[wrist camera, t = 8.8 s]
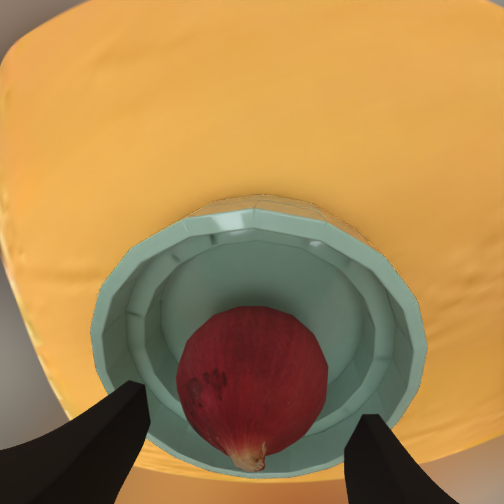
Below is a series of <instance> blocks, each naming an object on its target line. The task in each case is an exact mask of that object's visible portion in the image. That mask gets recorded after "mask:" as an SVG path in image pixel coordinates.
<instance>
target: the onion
mask: <svg viewBox="0 0 504 504" xmlns="http://www.w3.org/2000/svg"><path fill="white" fill-rule="evenodd" d="M328 367H329V366H328V364H327V361H326V359H325V357H324V354H323V352H322V350H321V347H320V345H319V343H318V341H317V339H316V337H315V335H314V333H312V332H311V331H310V330H309V329H308V328H307V327H306V326H305V325H304V324H302V323H301V322H300V321H299V320H298V319H297V318H296V317H295V316H293V315H291V314H288V313H285V312H282V311H279V310H276V309H273V308H270V307H267V306H238V307H235V308H232V309H229V310H226V311H224V312H221V313H218V314H215V315H213V316H212V317H211V318H209V319H208V320H207V321H206V322H205V323H204V324H203V325H202V326H200V327H199V328H198V329H197V330H196V331H195V332H194V333H193V334H192V336H191V337H190V338H189V339H188V340H187V342H186V344H185V347H184V350H183V353H182V356H181V359H180V362H179V365H178V370H177V374H176V385H177V392H178V395H179V399H180V402H181V405H182V409H183V412H184V414H185V416H186V419H187V421H188V422H189V424H190V425H191V427H192V428H193V429H194V430H195V431H196V432H197V434H198V435H199V436H200V437H202V438H203V439H204V440H205V441H207V442H208V443H209V444H210V445H212V446H213V447H214V448H216V449H218V450H219V451H221V452H223V453H224V454H225V455H227V456H229V457H230V458H231V459H232V461H233V463H234V464H235V466H236V467H238V468H240V469H242V470H244V471H246V472H258V471H261V470H264V468H265V462H264V461H265V456H268V455H271V454H275V453H279V452H281V451H282V450H284V449H286V448H287V447H289V446H290V445H292V444H293V443H295V442H296V441H298V440H299V439H301V438H302V437H303V436H304V435H305V434H306V433H307V432H308V430H309V429H310V428H311V426H312V425H313V423H314V422H315V420H316V419H317V417H318V416H319V414H320V413H321V411H322V409H323V406H324V404H325V402H326V395H327V382H328Z"/></svg>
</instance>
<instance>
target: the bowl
mask: <svg viewBox="0 0 504 504" xmlns="http://www.w3.org/2000/svg"><path fill="white" fill-rule="evenodd" d="M238 306H267V307H270V308H273V309H276V310H279V311H282V312H285V313H288V314H291V315H293V316H295V317H296V318H297V319H298V320H299V321H300V322H301V323H302V324H304V325H305V326H306V327H307V328H308V329H309V330H310V331H311V332H312V333H314V335H315V337H316V339H317V341H318V343H319V345H320V347H321V350H322V352H323V354H324V357H325V359H326V361H327V364H328V366H329V367H328V382H327V395H326V402H325V404H324V406H323V409H322V411H321V413H320V414H319V416H318V417H317V419H316V420H315V422H314V423H313V425H312V426H311V428H310V429H309V430H308V432H307V433H306V434H305V435H304V436H303V437H302V438H301V439H299V440H298V441H296V442H295V443H293V444H292V445H290V446H289V447H287V448H286V449H284V450H282V451H281V452H279V453H275V454H271V455H268V456H265V461H264V462H265V468H264V470H261V471H258V472H246V471H244V470H242V469H240V468H238V467H236V466H235V464H234V463H233V461H232V459H231V458H230V457H229V456H227V455H225V454H224V453H223V452H221V451H219V450H218V449H216V448H214V447H213V446H212V445H210V444H209V443H208V442H207V441H205V440H204V439H203V438H202V437H200V436H199V435H198V434H197V432H196V431H195V430H194V429H193V428H192V427H191V425H190V424H189V422H188V421H187V419H186V416H185V414H184V412H183V409H182V405H181V402H180V399H179V395H178V392H177V385H176V374H177V370H178V365H179V362H180V359H181V356H182V353H183V350H184V347H185V344H186V342H187V340H188V339H189V338H190V337H191V336H192V334H193V333H194V332H195V331H196V330H197V329H198V328H199V327H200V326H202V325H203V324H204V323H205V322H206V321H207V320H208V319H209V318H211V317H212V316H213V315H215V314H218V313H221V312H224V311H226V310H229V309H232V308H235V307H238ZM90 329H91V330H90V334H91V342H92V349H93V356H94V362H95V368H96V371H97V373H98V376H99V378H100V380H101V382H102V384H103V386H104V388H105V390H106V392H107V394H108V395H109V394H110V393H112V392H113V391H114V390H116V389H117V388H118V387H120V386H121V385H122V384H124V383H125V382H127V381H128V380H131V381H134V382H138V383H141V384H145V387H146V394H147V401H148V407H149V414H150V420H151V424H150V427H149V430H148V433H147V436H146V439H148V440H149V441H151V442H152V443H153V444H155V445H156V446H158V447H159V448H161V449H162V450H164V451H165V452H167V453H169V454H170V455H172V456H174V457H175V458H177V459H180V460H182V461H185V462H187V463H189V464H192V465H194V466H197V467H200V468H202V469H205V470H208V471H212V472H215V473H220V474H226V475H231V476H237V477H243V478H252V479H266V478H290V477H296V476H301V475H305V474H309V473H313V472H317V471H321V470H325V469H328V468H331V467H334V466H336V465H338V464H340V463H342V462H344V448H345V446H346V444H347V443H348V441H349V439H350V437H351V435H352V433H353V431H354V430H355V428H356V426H357V424H358V422H359V420H360V418H361V416H362V414H379V415H380V416H381V418H382V419H383V420H384V422H385V423H386V424H387V426H388V427H389V428H390V430H391V429H392V428H393V427H394V426H395V425H396V424H397V422H399V421H400V419H401V417H402V416H403V414H404V413H405V411H406V410H407V408H408V406H409V405H410V403H411V401H412V400H413V398H414V396H415V395H416V393H417V391H418V390H419V387H420V383H421V378H422V374H423V369H424V364H425V358H426V353H427V341H426V336H425V331H424V326H423V321H422V317H421V313H420V308H419V304H418V301H417V299H416V297H415V296H414V294H413V293H412V292H411V290H410V289H409V287H408V286H407V285H406V283H405V282H404V281H403V279H402V278H401V277H400V275H399V274H398V273H397V271H396V270H395V269H394V267H393V266H392V265H391V263H390V262H389V261H388V260H387V258H386V257H385V256H384V255H383V254H382V253H381V252H380V251H378V250H377V249H376V248H375V247H374V246H373V245H372V244H371V243H370V242H369V241H368V240H366V239H365V238H364V237H363V236H362V235H361V234H360V233H359V232H358V231H356V230H355V229H354V228H353V227H352V226H350V225H349V224H347V223H345V222H344V221H342V220H340V219H339V218H337V217H335V216H334V215H332V214H330V213H328V212H327V211H325V210H323V209H321V208H320V207H318V206H316V205H314V204H313V203H309V202H304V201H299V200H294V199H289V198H284V197H278V196H273V195H267V194H263V195H262V194H257V195H250V196H243V197H236V198H230V199H223V200H217V201H213V202H211V203H209V204H207V205H206V206H204V207H202V208H200V209H198V210H196V211H194V212H192V213H190V214H189V215H187V216H185V217H183V218H181V219H179V220H178V221H176V222H174V223H172V224H170V225H169V226H167V227H165V228H163V229H162V230H160V231H158V232H156V233H155V234H153V235H151V236H150V237H148V238H146V239H145V240H143V241H141V242H139V243H138V244H136V245H134V246H133V247H132V248H131V249H129V251H128V252H127V253H126V254H125V256H124V257H123V258H122V259H121V261H120V262H119V263H118V265H117V266H116V267H115V268H114V270H113V271H112V272H111V274H110V275H109V276H108V278H107V279H106V280H105V282H104V283H103V284H102V286H101V288H100V290H99V294H98V298H97V302H96V306H95V310H94V314H93V319H92V323H91V327H90Z"/></svg>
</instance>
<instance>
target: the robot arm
mask: <svg viewBox="0 0 504 504" xmlns="http://www.w3.org/2000/svg"><path fill="white" fill-rule="evenodd" d="M150 424H151V420H150V414H149V407H148V401H147V394H146V387H145V384H141V383H138V382H134V381H131V380H128V381H127V382H125V383H124V384H122V385H121V386H120V387H118V388H117V389H116V390H114V391H113V392H112V393H110V394H109V395H108V396H106V397H105V398H104V399H102V400H101V401H100V402H98V403H97V404H95V405H94V406H92V407H91V408H89V409H88V410H87V411H85V412H84V413H82V414H81V415H79V416H78V417H76V418H74V419H73V420H71V421H69V422H68V423H66V424H64V425H63V426H61V427H59V428H57V429H55V430H53V431H51V432H49V433H47V434H45V435H43V436H41V437H39V438H36V439H34V440H31V441H29V442H26V443H23V444H20V445H17V446H14V447H11V448H8V449H3V450H0V504H114V502H115V500H116V498H117V495H118V493H119V491H120V489H121V487H122V485H123V483H124V481H125V479H126V477H127V475H128V474H129V472H130V470H131V468H132V466H133V464H134V462H135V460H136V458H137V456H138V454H139V452H140V451H141V449H142V447H143V444H144V441H145V439H146V436H147V433H148V430H149V427H150ZM344 475H345V481H346V488H347V495H348V502H349V504H459V503H458V502H456V501H455V500H454V499H453V498H451V497H450V496H449V495H448V494H447V493H445V492H444V491H443V490H442V489H441V488H440V487H439V486H438V485H437V484H435V482H434V481H432V480H431V478H430V477H429V476H428V475H427V474H426V473H425V472H424V471H423V470H422V469H421V467H420V466H419V465H418V464H417V463H416V462H415V460H414V459H413V458H412V457H411V456H410V454H409V453H408V452H407V451H406V449H405V448H404V447H403V446H402V444H401V443H400V442H399V440H398V439H397V438H396V436H395V435H394V434H393V432H392V431H391V430H390V428H389V427H388V426H387V424H386V423H385V422H384V420H383V419H382V418H381V416H380V415H379V414H362V416H361V418H360V420H359V422H358V424H357V426H356V428H355V430H354V431H353V433H352V435H351V437H350V439H349V441H348V443H347V444H346V446H345V448H344Z"/></svg>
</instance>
